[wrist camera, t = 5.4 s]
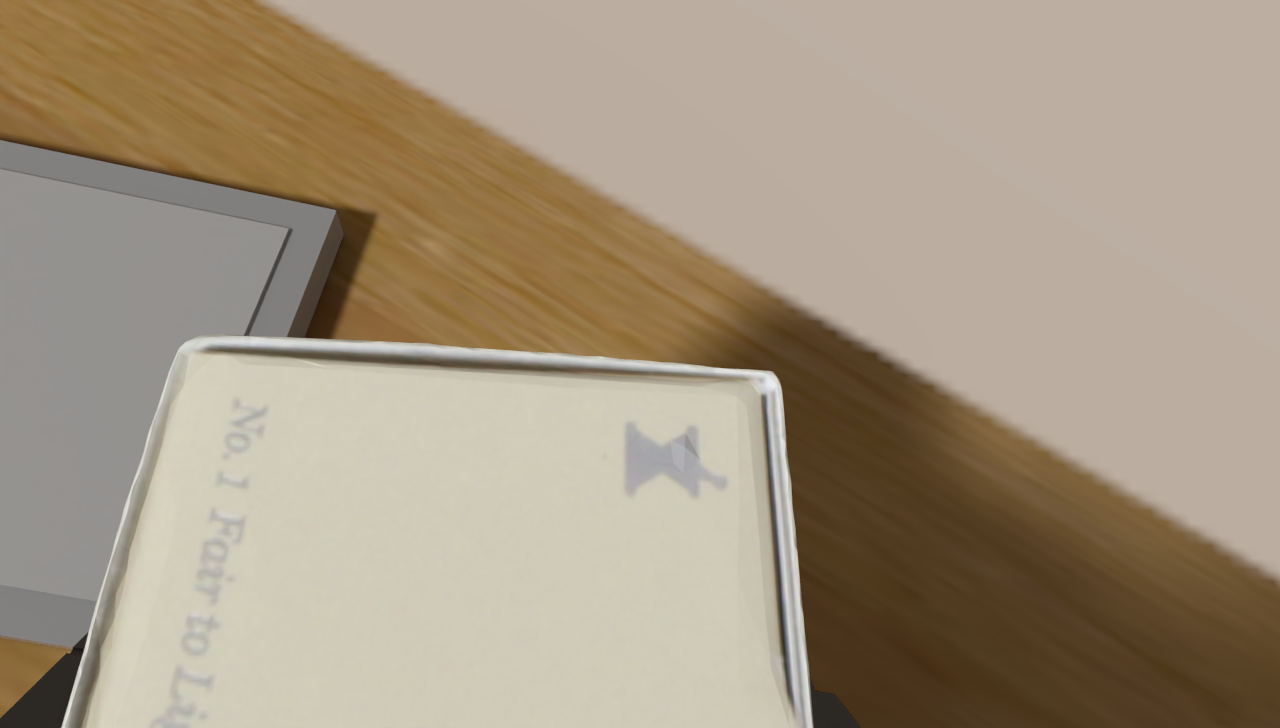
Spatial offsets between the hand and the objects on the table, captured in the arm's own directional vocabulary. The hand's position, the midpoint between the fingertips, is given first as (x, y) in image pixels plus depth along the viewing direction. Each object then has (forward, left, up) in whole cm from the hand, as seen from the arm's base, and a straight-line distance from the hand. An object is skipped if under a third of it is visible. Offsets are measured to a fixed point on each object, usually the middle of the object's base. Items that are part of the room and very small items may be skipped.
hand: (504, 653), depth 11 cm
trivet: (+11, -4, -5) cm, 13 cm away
